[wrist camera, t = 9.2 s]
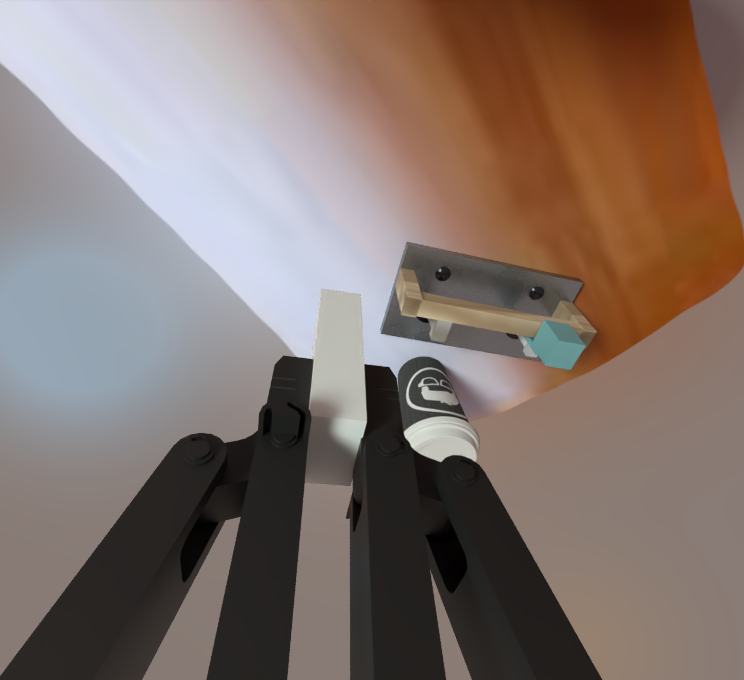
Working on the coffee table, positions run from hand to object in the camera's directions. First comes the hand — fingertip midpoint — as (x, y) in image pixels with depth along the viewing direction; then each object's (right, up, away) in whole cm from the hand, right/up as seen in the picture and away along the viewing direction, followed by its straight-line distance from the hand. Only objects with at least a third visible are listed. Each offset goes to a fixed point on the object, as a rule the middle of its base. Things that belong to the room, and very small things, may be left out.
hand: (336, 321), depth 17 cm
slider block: (+20, +3, +38) cm, 43 cm away
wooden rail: (+15, +4, +37) cm, 40 cm away
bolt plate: (+15, +4, +38) cm, 41 cm away
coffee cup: (+8, -5, +44) cm, 45 cm away
